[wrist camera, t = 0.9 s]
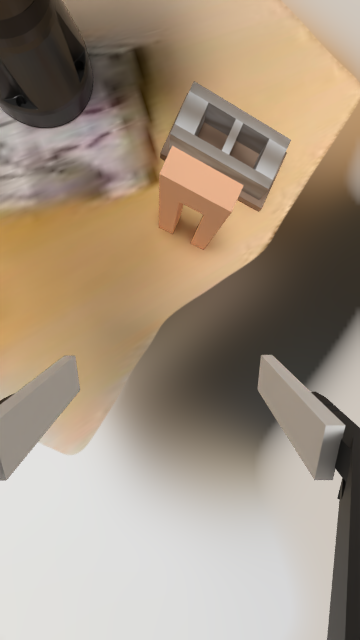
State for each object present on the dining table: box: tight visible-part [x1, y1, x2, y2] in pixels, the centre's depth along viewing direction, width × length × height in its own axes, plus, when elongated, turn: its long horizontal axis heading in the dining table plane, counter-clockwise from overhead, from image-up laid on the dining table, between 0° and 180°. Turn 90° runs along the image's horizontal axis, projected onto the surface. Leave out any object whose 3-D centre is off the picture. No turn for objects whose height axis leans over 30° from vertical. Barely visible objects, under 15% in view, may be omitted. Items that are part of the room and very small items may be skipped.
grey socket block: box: [160, 82, 291, 211], centre depth 31 cm, size 10×18×4 cm, turn 66°
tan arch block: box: [159, 146, 244, 250], centre depth 27 cm, size 3×8×13 cm, turn 66°
